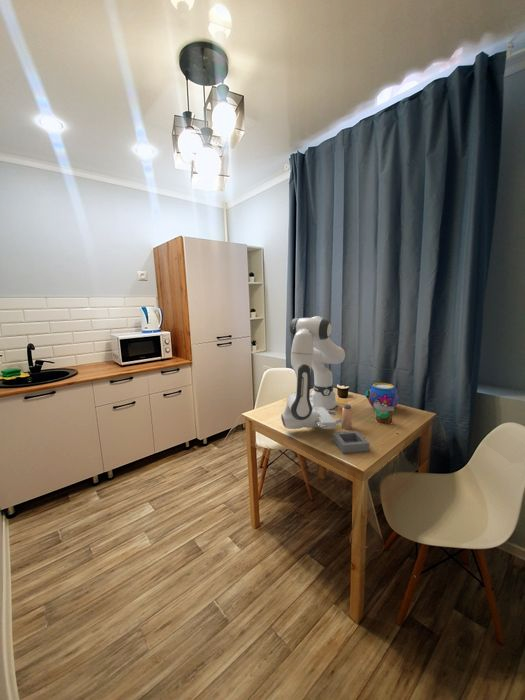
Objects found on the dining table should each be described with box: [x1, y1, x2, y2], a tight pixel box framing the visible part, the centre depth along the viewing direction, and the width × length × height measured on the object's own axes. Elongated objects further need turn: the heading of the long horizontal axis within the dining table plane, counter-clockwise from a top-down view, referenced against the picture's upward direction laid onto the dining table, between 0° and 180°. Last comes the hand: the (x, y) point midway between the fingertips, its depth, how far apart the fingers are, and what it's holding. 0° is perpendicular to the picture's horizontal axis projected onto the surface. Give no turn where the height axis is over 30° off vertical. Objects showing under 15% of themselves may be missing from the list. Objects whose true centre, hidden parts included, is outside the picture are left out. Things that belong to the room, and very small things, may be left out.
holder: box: [332, 430, 370, 455], centre depth 126 cm, size 12×12×4 cm
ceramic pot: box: [365, 382, 400, 409], centre depth 166 cm, size 18×18×15 cm
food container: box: [373, 400, 395, 425], centre depth 149 cm, size 12×6×10 cm, turn 19°
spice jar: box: [341, 404, 353, 431], centre depth 143 cm, size 5×5×12 cm
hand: (338, 416), depth 143 cm, fingers open, 8 cm apart
